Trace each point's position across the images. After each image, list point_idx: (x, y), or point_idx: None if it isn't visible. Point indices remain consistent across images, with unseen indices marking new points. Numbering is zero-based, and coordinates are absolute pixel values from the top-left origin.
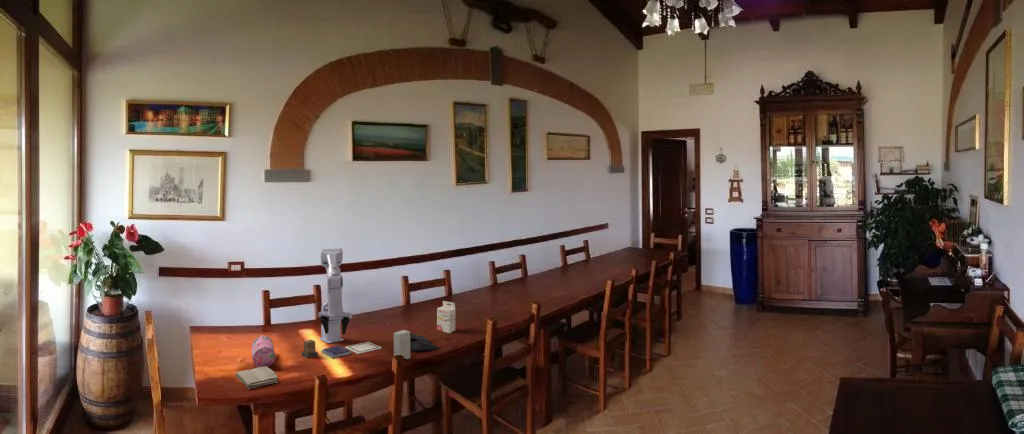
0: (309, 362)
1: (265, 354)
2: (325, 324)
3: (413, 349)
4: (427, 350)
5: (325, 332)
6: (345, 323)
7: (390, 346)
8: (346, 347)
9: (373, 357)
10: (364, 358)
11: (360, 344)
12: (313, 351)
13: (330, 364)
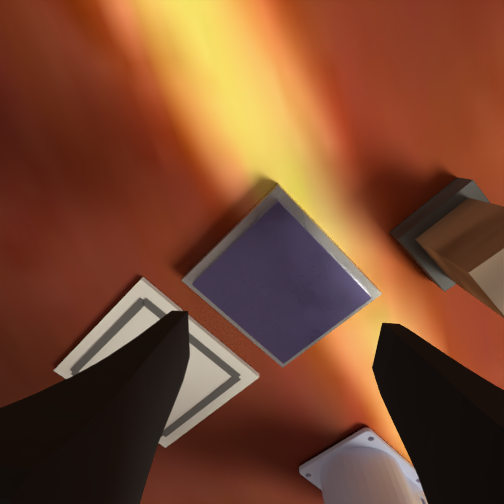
0: (422, 78)
1: None
2: (482, 412)
3: None
4: None
5: (406, 329)
6: (12, 405)
7: None
8: (247, 367)
9: (24, 221)
10: (69, 198)
11: (188, 411)
12: (432, 232)
13: (249, 42)
